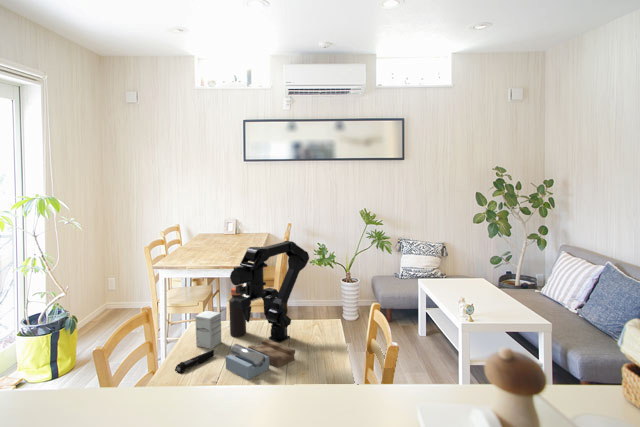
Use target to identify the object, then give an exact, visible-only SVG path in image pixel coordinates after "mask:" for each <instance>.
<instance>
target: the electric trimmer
mask: <svg viewBox="0 0 640 427" xmlns="http://www.w3.org/2000/svg"><path fill="white" fill-rule="evenodd" d="M214 356H215V350H214V349H211V350H208V351H206V352H203V353H201V354H198V355H196V356H194V357H192V358H190V359H187V360H184V361H180V362H179V363H177V365H176V366H175V369H174V372H175V371H177V372H178V373H177V372H176V373H177V374H183V373H184V371H186V370H188V369H190V368H192V367H195V366H197V365H201V364H203V363H205V362H206V361H209V360H210V359H212V358H214Z"/></svg>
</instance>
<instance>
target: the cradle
mask: <svg viewBox="0 0 640 427" xmlns="http://www.w3.org/2000/svg"><path fill="white" fill-rule="evenodd" d="M245 348H248V346H247V347H245ZM248 349H250V348H248ZM250 350H252V349H250ZM253 351H255V350H253ZM255 352H257V351H255ZM257 353H259V352H257ZM260 354H262V353H260ZM262 355H264V354H262ZM264 356H265V363H264V364H263V366H261V367H258V366H256V365H254V364H252V363H249V362H247V361H245V360H243V359H241V358H238V357H236V356H234V355H232V354H229V355H228V354H227V355H225V369H226V370H227V371H230V372H232V373H233V374H236V375H238V376H240V377H242V378H244V379H245V380H250V379H252V378H255V377H257V376H258V375H260V374H262V373H264V372H266V371H269V370H270V364H269V356H266V355H264Z"/></svg>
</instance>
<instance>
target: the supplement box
mask: <svg viewBox="0 0 640 427" xmlns="http://www.w3.org/2000/svg"><path fill="white" fill-rule="evenodd" d="M195 341H196V342H195V344H196V347H201V348H206V349H211V350H212V349H213V348H214V347H216V346H217V345H219V344H221V343H222V312H218V311H211V310H205V311H202V312H200V313H199V314H197V315H195Z"/></svg>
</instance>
